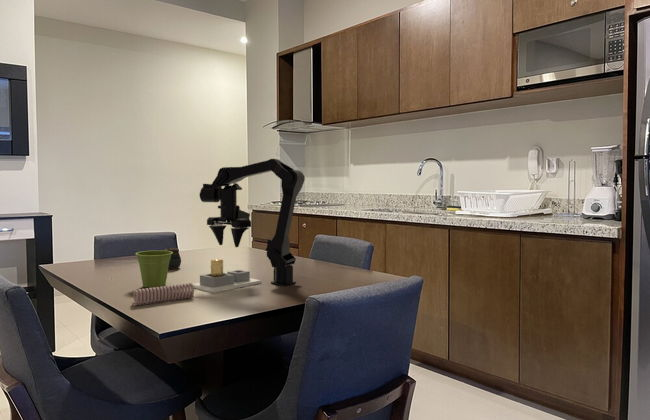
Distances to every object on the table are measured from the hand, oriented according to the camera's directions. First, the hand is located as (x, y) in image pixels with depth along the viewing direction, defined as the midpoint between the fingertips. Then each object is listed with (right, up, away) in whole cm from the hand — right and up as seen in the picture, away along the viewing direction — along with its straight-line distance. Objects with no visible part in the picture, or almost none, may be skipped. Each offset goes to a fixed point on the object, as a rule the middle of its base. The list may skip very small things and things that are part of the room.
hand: (228, 246), depth 175 cm
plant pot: (-23, -13, -11) cm, 28 cm away
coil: (-12, -14, -32) cm, 37 cm away
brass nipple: (-1, -12, -13) cm, 17 cm away
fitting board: (+1, -13, -10) cm, 16 cm away
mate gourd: (-27, -11, +22) cm, 37 cm away
